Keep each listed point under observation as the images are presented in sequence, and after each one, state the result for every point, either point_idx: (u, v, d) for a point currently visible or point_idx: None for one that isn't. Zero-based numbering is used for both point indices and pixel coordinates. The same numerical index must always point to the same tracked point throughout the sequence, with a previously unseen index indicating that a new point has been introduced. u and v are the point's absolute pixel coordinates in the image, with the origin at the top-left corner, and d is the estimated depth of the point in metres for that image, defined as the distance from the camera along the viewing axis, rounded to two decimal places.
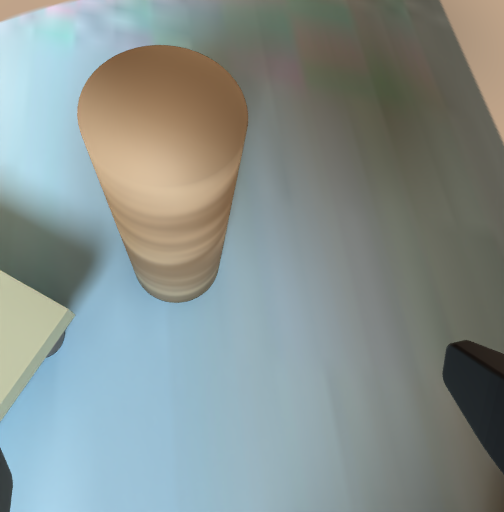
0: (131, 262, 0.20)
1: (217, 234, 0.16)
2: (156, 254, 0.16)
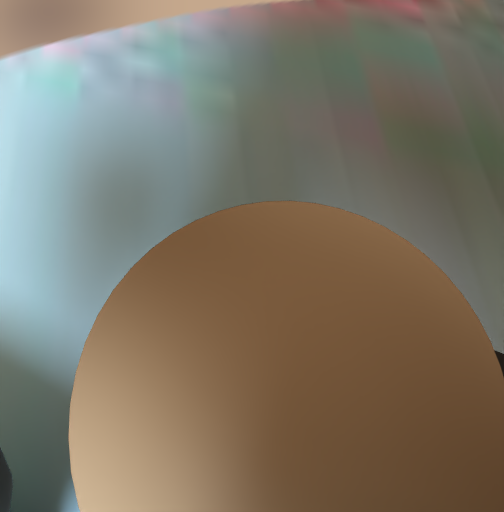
0: None
1: None
2: None
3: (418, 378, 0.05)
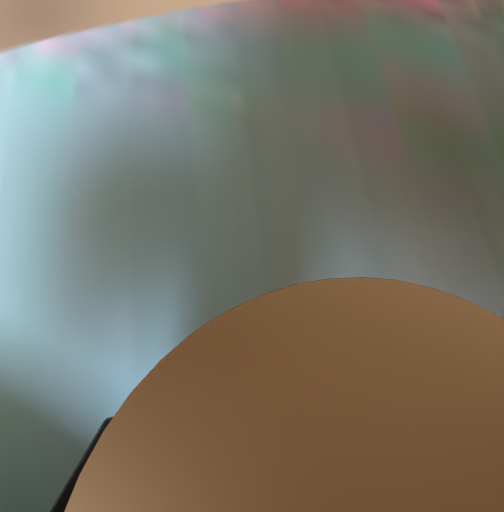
0: None
1: None
2: None
3: None
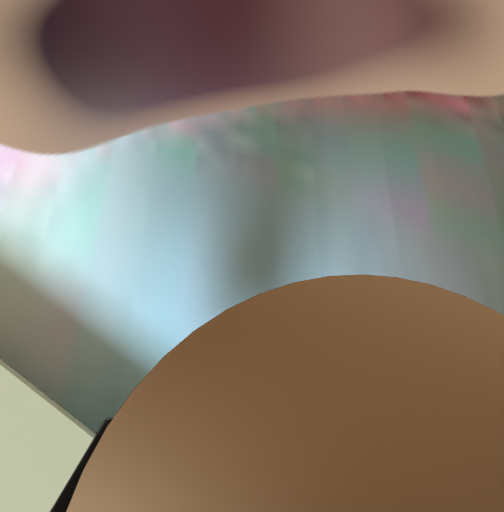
0: None
1: None
2: None
3: None
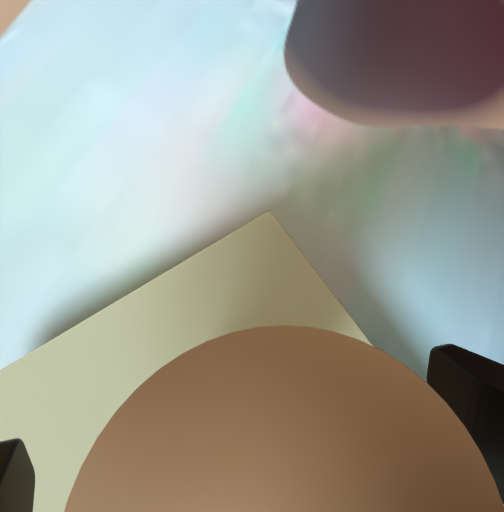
0: None
1: None
2: None
3: None
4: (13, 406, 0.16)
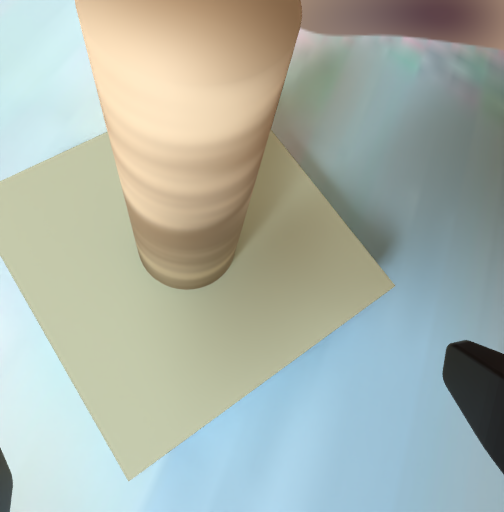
0: (136, 236, 0.17)
1: (245, 190, 0.13)
2: (170, 213, 0.13)
3: None
4: (19, 202, 0.20)
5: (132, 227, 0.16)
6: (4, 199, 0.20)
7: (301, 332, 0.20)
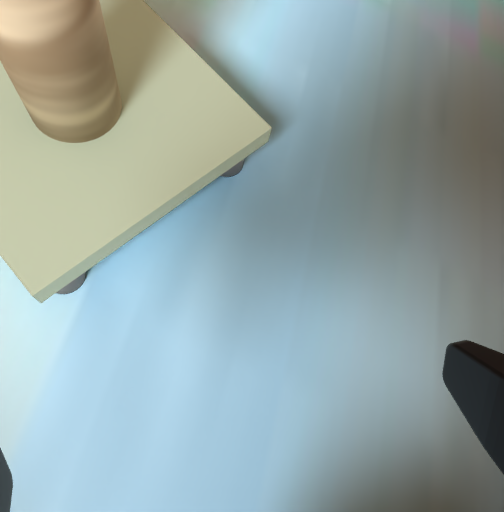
0: (11, 80, 0.19)
1: None
2: (10, 16, 0.15)
3: None
4: None
5: None
6: None
7: (186, 169, 0.22)
